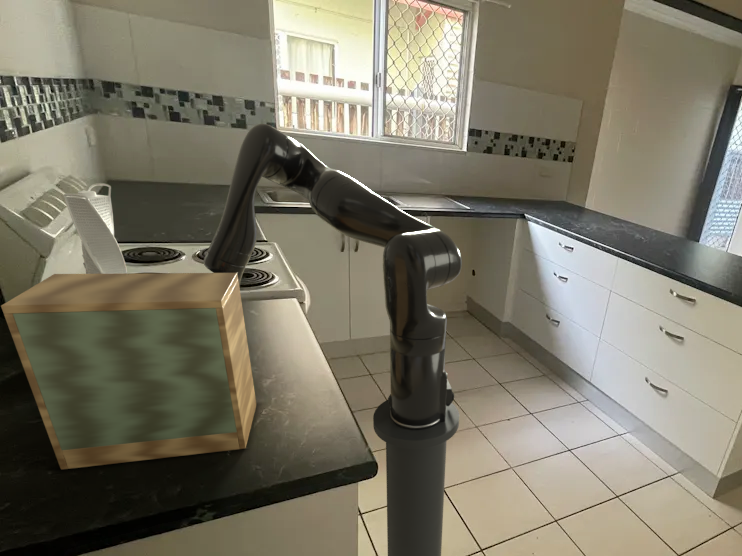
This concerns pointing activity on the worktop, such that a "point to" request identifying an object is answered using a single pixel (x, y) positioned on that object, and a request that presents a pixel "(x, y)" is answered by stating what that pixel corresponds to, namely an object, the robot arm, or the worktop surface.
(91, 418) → the shelf unit
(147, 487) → the worktop surface
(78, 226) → the box grater
